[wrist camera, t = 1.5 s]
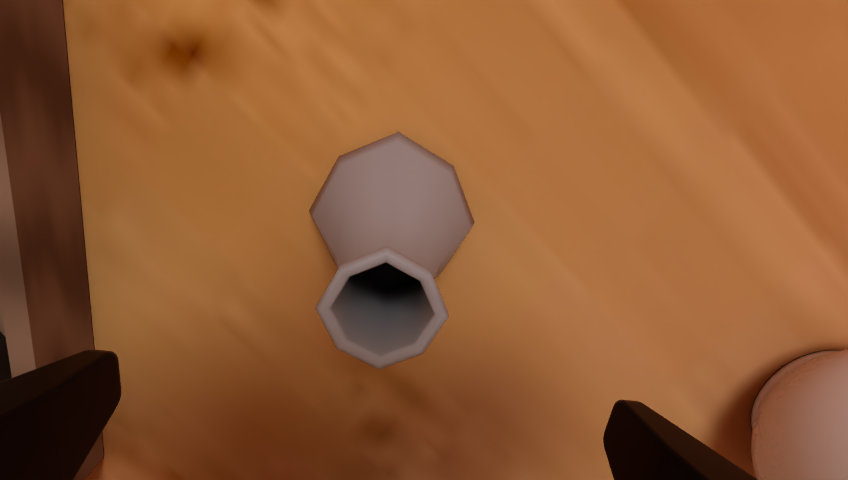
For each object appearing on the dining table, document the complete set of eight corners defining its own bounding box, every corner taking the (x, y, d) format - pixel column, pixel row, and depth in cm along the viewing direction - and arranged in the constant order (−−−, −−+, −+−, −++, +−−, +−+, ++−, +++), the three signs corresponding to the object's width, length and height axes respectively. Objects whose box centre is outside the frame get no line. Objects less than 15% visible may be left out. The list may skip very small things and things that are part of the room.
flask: (282, 206, 20) (175, 301, 11) (400, 101, 19) (396, 103, 10) (386, 313, 22) (372, 472, 13) (500, 223, 21) (578, 324, 12)
